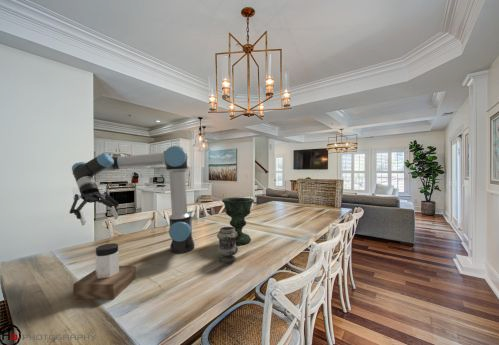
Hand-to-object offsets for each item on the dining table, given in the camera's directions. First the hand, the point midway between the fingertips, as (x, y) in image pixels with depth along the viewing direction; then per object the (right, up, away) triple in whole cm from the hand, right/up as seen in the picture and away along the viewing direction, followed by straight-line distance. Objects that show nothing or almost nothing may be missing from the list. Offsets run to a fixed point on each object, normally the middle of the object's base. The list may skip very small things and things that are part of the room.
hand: (101, 220), depth 102 cm
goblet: (+62, -27, +52) cm, 85 cm away
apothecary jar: (+58, -27, +21) cm, 67 cm away
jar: (+9, -21, -9) cm, 25 cm away
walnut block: (+9, -27, -9) cm, 30 cm away
